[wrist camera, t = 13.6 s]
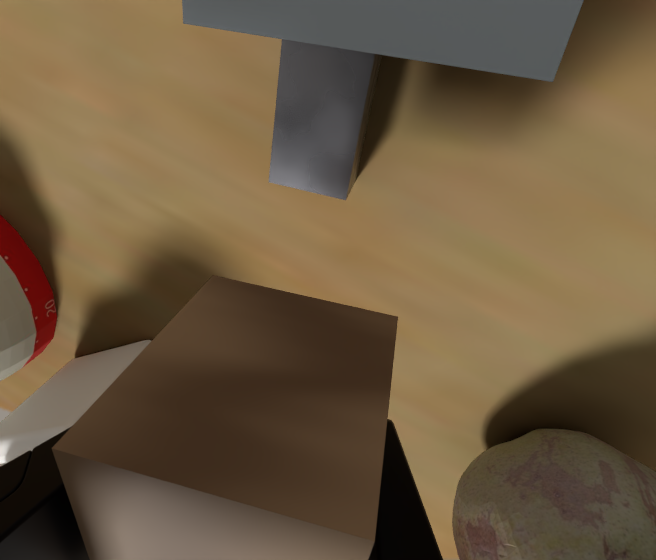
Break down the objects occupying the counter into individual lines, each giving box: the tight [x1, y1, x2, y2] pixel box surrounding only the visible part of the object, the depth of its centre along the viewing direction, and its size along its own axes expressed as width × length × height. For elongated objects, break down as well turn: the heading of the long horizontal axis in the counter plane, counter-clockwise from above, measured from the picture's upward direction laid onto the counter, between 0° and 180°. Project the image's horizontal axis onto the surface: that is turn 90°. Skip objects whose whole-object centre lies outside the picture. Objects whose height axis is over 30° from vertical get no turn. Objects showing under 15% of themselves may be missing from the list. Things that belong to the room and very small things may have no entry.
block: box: [52, 275, 398, 560], centre depth 9 cm, size 4×4×5 cm
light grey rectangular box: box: [0, 340, 151, 466], centre depth 22 cm, size 7×7×12 cm
